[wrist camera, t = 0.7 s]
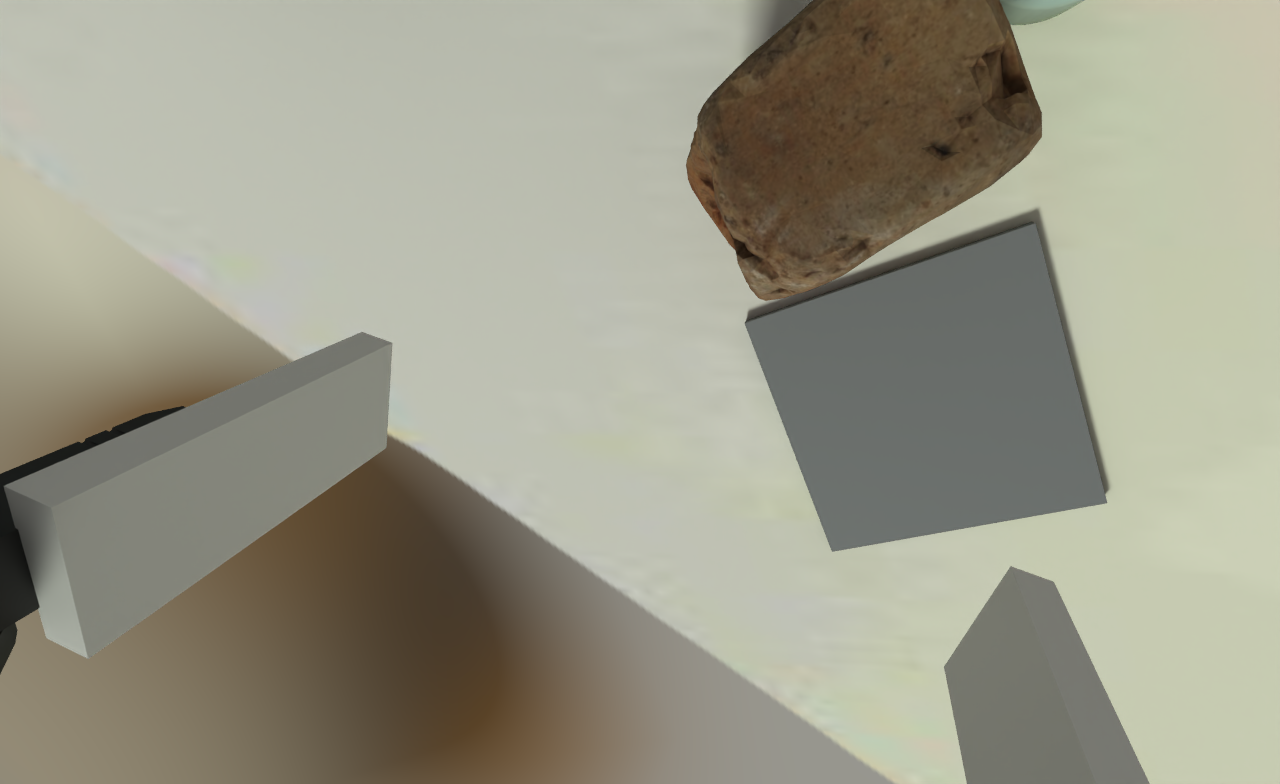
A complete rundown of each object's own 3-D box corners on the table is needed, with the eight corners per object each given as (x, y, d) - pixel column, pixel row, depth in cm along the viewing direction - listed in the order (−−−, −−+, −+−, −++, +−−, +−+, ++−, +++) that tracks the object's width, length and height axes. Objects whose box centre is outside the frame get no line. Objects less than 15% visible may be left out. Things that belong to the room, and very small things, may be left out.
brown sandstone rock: (895, 16, 31) (963, -153, 13) (967, 146, 32) (1115, 149, 15) (716, 149, 36) (591, 155, 18) (783, 259, 37) (727, 366, 19)
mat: (746, 320, 39) (744, 323, 38) (1032, 221, 33) (1035, 223, 32) (832, 546, 43) (832, 551, 42) (1103, 497, 36) (1107, 503, 36)
